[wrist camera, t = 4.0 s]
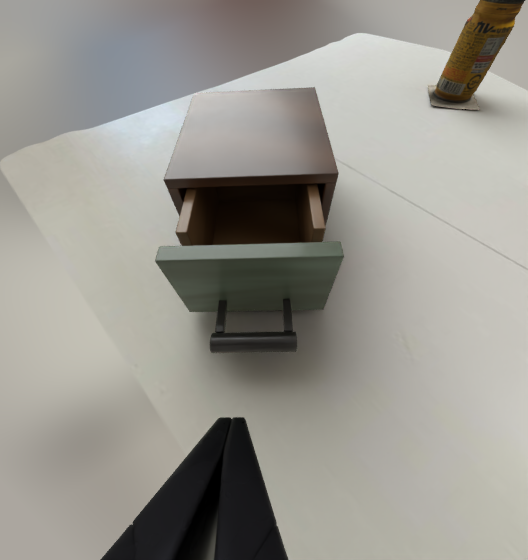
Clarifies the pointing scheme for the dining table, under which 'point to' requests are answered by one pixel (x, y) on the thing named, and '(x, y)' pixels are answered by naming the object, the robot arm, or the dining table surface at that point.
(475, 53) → the condiment
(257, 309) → the drawer
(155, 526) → the robot arm
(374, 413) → the dining table surface
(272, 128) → the cabinet
